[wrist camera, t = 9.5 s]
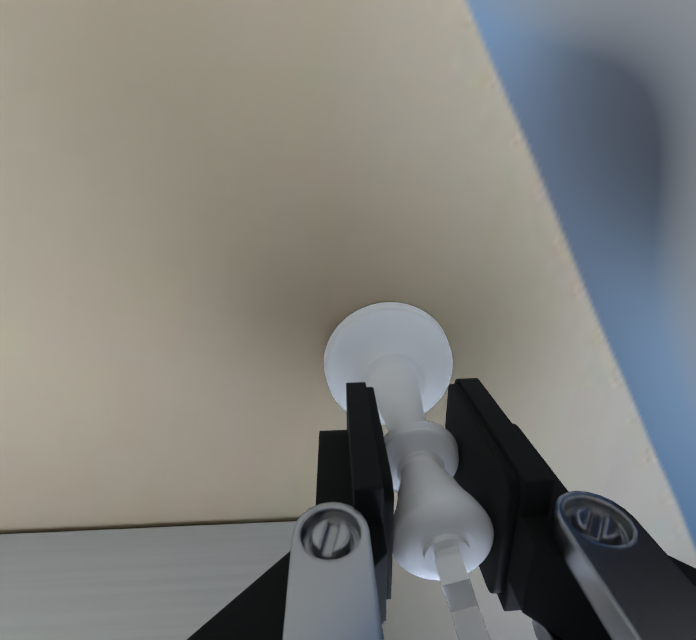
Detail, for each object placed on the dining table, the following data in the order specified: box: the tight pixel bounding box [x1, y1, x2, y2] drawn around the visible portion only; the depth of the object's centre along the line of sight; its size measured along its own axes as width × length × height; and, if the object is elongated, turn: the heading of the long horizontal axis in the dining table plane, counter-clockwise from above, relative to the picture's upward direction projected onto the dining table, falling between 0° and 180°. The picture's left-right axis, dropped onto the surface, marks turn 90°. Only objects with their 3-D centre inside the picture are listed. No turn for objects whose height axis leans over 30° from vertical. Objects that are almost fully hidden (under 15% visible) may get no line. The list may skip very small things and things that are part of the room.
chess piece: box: [324, 302, 494, 640], centre depth 10 cm, size 5×5×10 cm
